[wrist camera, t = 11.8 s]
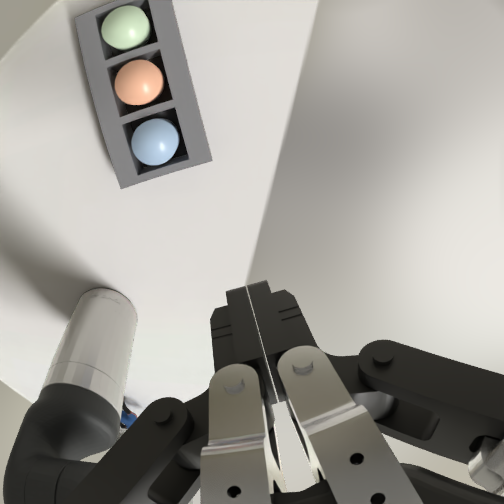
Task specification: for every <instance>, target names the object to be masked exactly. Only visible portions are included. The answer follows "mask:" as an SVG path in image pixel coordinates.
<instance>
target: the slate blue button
mask: <svg viewBox="0 0 504 504" xmlns="http://www.w3.org/2000/svg"><path fill="white" fill-rule="evenodd" d="M179 141H180V135H179V131H178V129H177V127H176V125H175V124H174V123H173V122H171V121H170V120H168V119H165V118H155V119H151V120H148V121H146V122H144V123H142V124H141V125H140V126H139V127H138V128H137V129H136V130H135V132H134V134H133V137H132V150H133V152H134V154H135V156H136V157H137V158H138V159H139V160H140V161H141V162H143V163H145V164H148V165H160V164H163V163H165V162H167V161H168V160H169V159H170V158H171V157H172V156H173V155H174V153H175V151H176V149H177V147H178V145H179Z"/></svg>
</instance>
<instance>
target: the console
mask: <svg viewBox="0 0 504 504" xmlns="http://www.w3.org/2000/svg"><path fill="white" fill-rule="evenodd" d="M122 6H135V7H138V8H140V9H141V10H144V9H147V8H150V10H151V14H152V18H153V22H154V27H155V31H156V35H157V39H158V42H156V43H153V44H150V45H147V46H144V47H141V48H138V49H135V50H132V51H129V52H126V53H124V54H121V55H118V56H116V57H113V55H112V51H111V47H110V45H109V44H108V43H107V42H106V41H105V40H104V39H103V36H102V32H101V30H102V24H103V22H104V20H105V18H106V17H107V16H108V15H109V14H110V13H111V12H112V11H113V10H115V9H117V8H119V7H122ZM75 23H76V28H77V33H78V38H79V43H80V48H81V52H82V57H83V61H84V65H85V70H86V74H87V78H88V82H89V86H90V90H91V94H92V97H93V101H94V105H95V108H96V112H97V116H98V119H99V123H100V126H101V129H102V133H103V136H104V139H105V143H106V146H107V149H108V152H109V155H110V158H111V162H112V165H113V168H114V171H115V174H116V177H117V179H118V182H119V185H120V188H121V189H123V188H126V187H129V186H132V185H135V184H138V183H141V182H144V181H147V180H150V179H153V178H156V177H159V176H163V175H166V174H169V173H172V172H176V171H179V170H182V169H186V168H189V167H193V166H196V165H200V164H203V163H207V162H211V161H212V156H211V152H210V148H209V144H208V141H207V137H206V133H205V129H204V125H203V122H202V118H201V114H200V110H199V106H198V102H197V98H196V95H195V91H194V87H193V83H192V79H191V75H190V71H189V67H188V63H187V59H186V55H185V51H184V47H183V44H182V40H181V36H180V32H179V28H178V23H177V19H176V15H175V11H174V7H173V3H172V0H116V1H114V2H111V3H108V4H106V5H103V6H101V7H98V8H96V9H94V10H91V11H89V12H87V13H84V14H82V15H80V16H78V17H76V18H75ZM161 55H162V59H163V63H164V67H165V71H166V75H167V79H168V83H169V86H170V90H171V94H172V98H173V100H170V101H167V102H164V103H160V104H157V105H154V106H151V107H148V108H145V109H142V110H139V111H136V112H133V113H131V114H128V113H127V110H126V106H125V102H123V101H122V100H121V99H120V98H119V97H118V95H117V93H116V91H115V79H116V76H117V72H116V71H117V70H120V69H121V68H122V67H123V66H124V65H126V64H127V63H129V62H131V61H135V60H148V59H152V58H155V57H158V56H161ZM172 108H175V109H176V113H177V116H178V120H179V124H180V127H181V131H182V135H183V138H184V142H185V145H186V149H187V153H188V154H187V155H183V156H180V157H177V158H173V159H170V160H168V161H167V162H165V163H163V164H160V165H151V166H148V167H145V168H144V167H143V163H142V162H141V161H140V160H139V159H138V158H137V157H136V156H135V154H134V152H133V150H132V137H133V131H132V127H131V124H130V122H132V121H135V120H138V119H141V118H144V117H147V116H150V115H153V114H156V113H159V112H162V111H165V110H168V109H172Z"/></svg>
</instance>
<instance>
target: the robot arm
mask: <svg viewBox="0 0 504 504" xmlns="http://www.w3.org/2000/svg"><path fill="white" fill-rule="evenodd" d="M247 287H248V291H249V295H250V299H251V302H252V306H253V309H254V313H255V317H256V321H257V325H258V328H259V332H260V336H261V339H262V343H263V347H264V350H265V354H266V357H267V361H268V365H269V368H270V371H271V375H272V378H273V382H274V385H275V388H276V392H277V395H278V399H279V402H282V401H286V404H287V407H288V410H289V413H290V417H291V421H292V424H293V426H294V428H295V431H296V433H297V436H298V438H299V441H300V443H301V446H302V448H303V450H304V453H305V455H306V458H307V460H308V463H309V465H310V467H311V470H312V473H313V476H314V479H315V482H316V484H315V485H313V486H311V487H309V488H307V489H306V490H303V491H300V492H287V488H286V484H285V480H284V476H283V471H282V466H281V459H280V453H279V446H278V441H277V434H276V428H275V423H274V421H275V418H274V413H273V409H272V406H271V405H272V404H276V403H277V399H276V395H275V392H274V388H273V384H272V381H271V377H270V374H269V370H268V366H267V362H266V358H265V355H264V351H263V347H262V344H261V340H260V336H259V332H258V329H257V325H256V322H255V318H254V315H253V311H252V308H251V304H250V301H249V297H248V294H247V290H246V287H245V286H244V287H240V288H236V289H232V290H229V291H226V297H227V303H228V305H227V306H223V307H219V308H215V310H214V312H213V314H212V316H211V318H210V324H211V336H212V347H213V358H214V368H215V374H214V376H213V377H212V379H211V380H210V384H209V388H208V389H207V390H206V391H205V392H204V393H202V394H201V395H199V396H197V397H195V398H193V399H191V400H189V401H187V402H185V403H183V402H182V401H180V400H178V399H176V398H172V397H166V398H161V399H158V400H156V401H154V402H152V403H151V404H150V405H148V406H147V407H146V409H145V410H144V411H143V412H142V413H141V414H140V416H139V417H138V418H137V419H136V420H135V421H134V422H133V424H132V425H131V426H130V427H129V428H128V429H127V430H126V432H125V433H124V434H123V435H122V436H121V437H120V438H119V440H118V441H117V439H118V435H119V429H120V420H121V413H122V406H123V398H124V391H125V385H126V379H127V373H128V367H129V362H130V356H131V351H132V345H133V341H134V336H135V331H136V326H137V313H136V311H135V308H134V307H133V305H132V303H131V302H130V301H129V300H128V299H127V298H126V297H124V296H123V295H122V294H120V293H118V292H116V291H113V290H110V289H104V288H97V289H92V290H89V291H88V292H86V293H84V294H83V295H82V296H81V298H80V300H79V302H78V304H77V306H76V308H75V310H74V312H73V314H72V316H71V319H70V321H69V323H68V325H67V327H66V330H65V332H64V334H63V337H62V339H61V341H60V344H59V346H58V348H57V351H56V353H55V356H54V358H53V361H52V363H51V366H50V368H49V371H48V374H47V376H46V379H45V382H44V384H43V387H42V390H41V393H40V395H39V398H38V400H37V401H36V402H35V403H33V404H32V406H31V407H30V408H29V409H28V411H27V413H26V414H25V417H24V419H23V422H22V424H21V427H20V429H19V432H18V435H17V437H16V440H15V443H14V446H13V448H12V451H11V454H10V457H9V460H8V463H7V466H6V470H5V475H4V484H3V497H4V504H188V503H189V502H190V501H191V499H192V498H193V496H194V495H195V494H196V493H197V491H198V490H199V488H200V493H201V495H200V496H201V504H504V375H502V374H499V373H495V372H492V371H489V370H485V369H482V368H478V367H475V366H471V365H468V364H465V363H461V362H458V361H454V360H451V359H448V358H445V357H441V356H438V355H435V354H432V353H428V352H425V351H422V350H419V349H416V348H413V347H410V346H407V345H403V344H400V343H397V342H394V341H391V340H377V341H373V342H371V343H369V344H367V345H366V346H365V347H363V348H362V350H361V351H360V353H359V355H356V356H333V355H330V354H327V353H325V352H323V351H322V350H321V349H320V348H319V347H318V346H317V344H316V342H315V340H314V338H313V336H312V333H311V331H310V329H309V327H308V325H307V323H306V321H305V318H304V316H303V315H302V312H301V310H300V308H299V305H298V304H297V301H296V299H295V297H294V296H293V295H292V294H290V293H289V292H287V291H286V290H281V291H278V292H274V293H271V291H270V288H269V285H268V283H267V280H265V281H261V282H258V283H254V284H251V285H247ZM382 433H383V434H385V435H388V436H390V437H393V438H395V439H398V440H401V441H403V442H405V443H408V444H410V445H413V446H416V447H418V448H421V449H424V450H426V451H429V452H432V453H435V454H437V455H440V456H443V457H446V458H449V459H452V460H455V461H458V462H462V463H464V464H468V471H469V475H470V477H471V479H472V480H473V481H474V482H475V483H476V484H478V485H480V486H482V487H484V488H485V489H486V490H487V491H488V492H487V491H484V490H481V489H478V488H475V487H472V486H469V485H467V484H464V483H461V482H458V481H455V480H453V479H450V478H448V477H445V476H443V475H440V474H437V473H435V472H432V471H430V470H427V469H425V468H422V467H419V466H416V465H412V464H405V463H399V462H398V460H397V458H396V457H395V455H394V453H393V452H392V450H391V448H390V447H389V445H388V443H387V442H386V440H385V438H384V437H383V435H382ZM116 441H117V442H116ZM111 447H112V448H111ZM109 448H111V449H110V450H109V451H108V452H107V453H106V455H104V457H103V458H102V459H101V460H100V461H99V462H98V463H91V462H82V461H80V460H81V459H83V458H85V457H88V456H90V455H93V454H96V453H100V452H102V451H105V450H107V449H109Z"/></svg>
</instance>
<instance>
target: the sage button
mask: <svg viewBox="0 0 504 504" xmlns="http://www.w3.org/2000/svg"><path fill="white" fill-rule="evenodd" d="M101 32H102V36H103V39H104V40H105V41H106V42H107V43H108V44H109V45H111V46H113V47H114V48H116V49H118V50H120V51H123V52H129V51H132V50H135V49H138V48H141V47H143V46H144V45H145V44H146V43H147V42H148V40H149V38H150V36H151V33H152V26H151V23H150V21H149V20H148V18H147V17H146V15H145V13H144V12H143V11H142V10H141V9H140V8H138V7H135V6H122V7H119V8H117V9H115V10H113V11H112V12H111V13H110V14H109V15H108V16H107V17H106V18H105V20H104V22H103V24H102V30H101Z"/></svg>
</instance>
